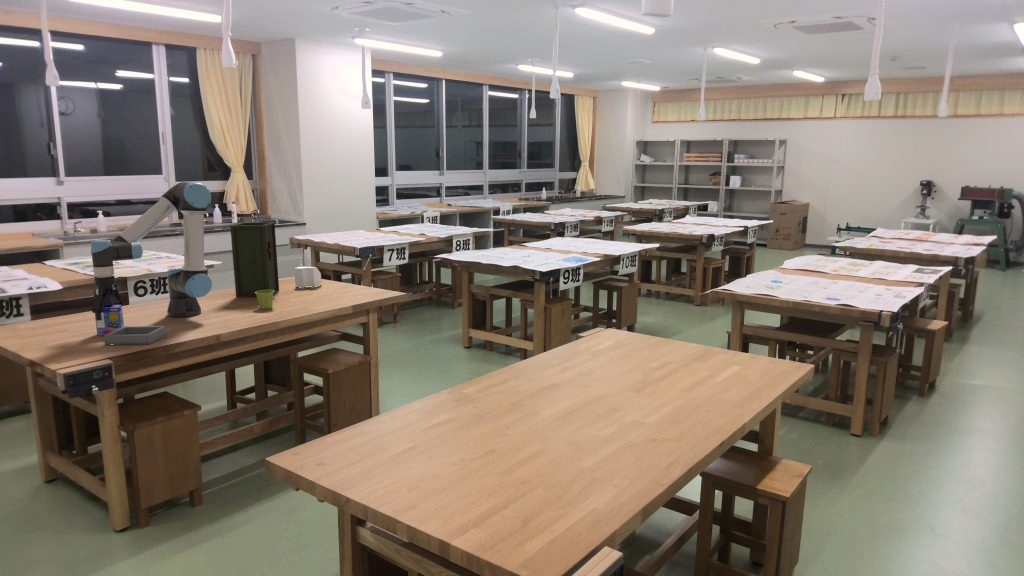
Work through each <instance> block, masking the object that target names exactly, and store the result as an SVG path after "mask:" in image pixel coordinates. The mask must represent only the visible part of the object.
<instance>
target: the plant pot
mask: <svg viewBox="0 0 1024 576" xmlns="http://www.w3.org/2000/svg"><path fill="white" fill-rule="evenodd" d="M255 293H256V296H257V297H256V299H257V303H258V306H259V309H261V310H265V309H267V310H268V309H272V308H273V299H274V295H275V294H274V290H260V291H256V292H255ZM273 294H274V295H273Z"/></svg>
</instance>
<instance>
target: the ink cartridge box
mask: <svg viewBox="0 0 1024 576" xmlns="http://www.w3.org/2000/svg"><path fill="white" fill-rule="evenodd" d="M102 312H103V315H104V323H105V327H104V328H97V319H96V313H94V317H95V318H94V319H95V326H96V333H97V335H98V336H104V335H107V334H109V333H111V332H113V331H115V330H117V329H120V328H122V327H124V326H125V322H124V313H123V304H122V305H114V304H113V303H112V301H105V303H104V306H103V310H102Z"/></svg>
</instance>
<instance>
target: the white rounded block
mask: <svg viewBox="0 0 1024 576" xmlns="http://www.w3.org/2000/svg"><path fill="white" fill-rule="evenodd" d="M293 270H294V282H295V283H294V284H295V285H294V286H295V288H296V287H306V286H312V287H315V286H318V285H321V284H322V274H321V272H320V270H319V268H317V267H316V266H297V267H294V269H293ZM321 286H322V285H321ZM318 287H319V286H318ZM306 288H307V287H306ZM315 288H316V287H315Z"/></svg>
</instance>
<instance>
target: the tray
mask: <svg viewBox="0 0 1024 576" xmlns="http://www.w3.org/2000/svg"><path fill="white" fill-rule="evenodd" d="M167 336H168V327H167V325H139V326H138V325H137V326H136V325H134V326H133V325H132V326H131V325H130V326H129V325H128V326H125V325H124V327H122V328H120V329H117V330H115V331H113V332H111V333H109V334H107V335H103V340H104V341H103V342H104V346H111V345H110V344H114V345H113V346H136V345H137V346H140V345H141V346H143V345H149V344H150V345H152V344H153V343H156V342H157V341H159V340H161V339H162V338H164V337H167ZM121 344H122V345H121Z"/></svg>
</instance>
